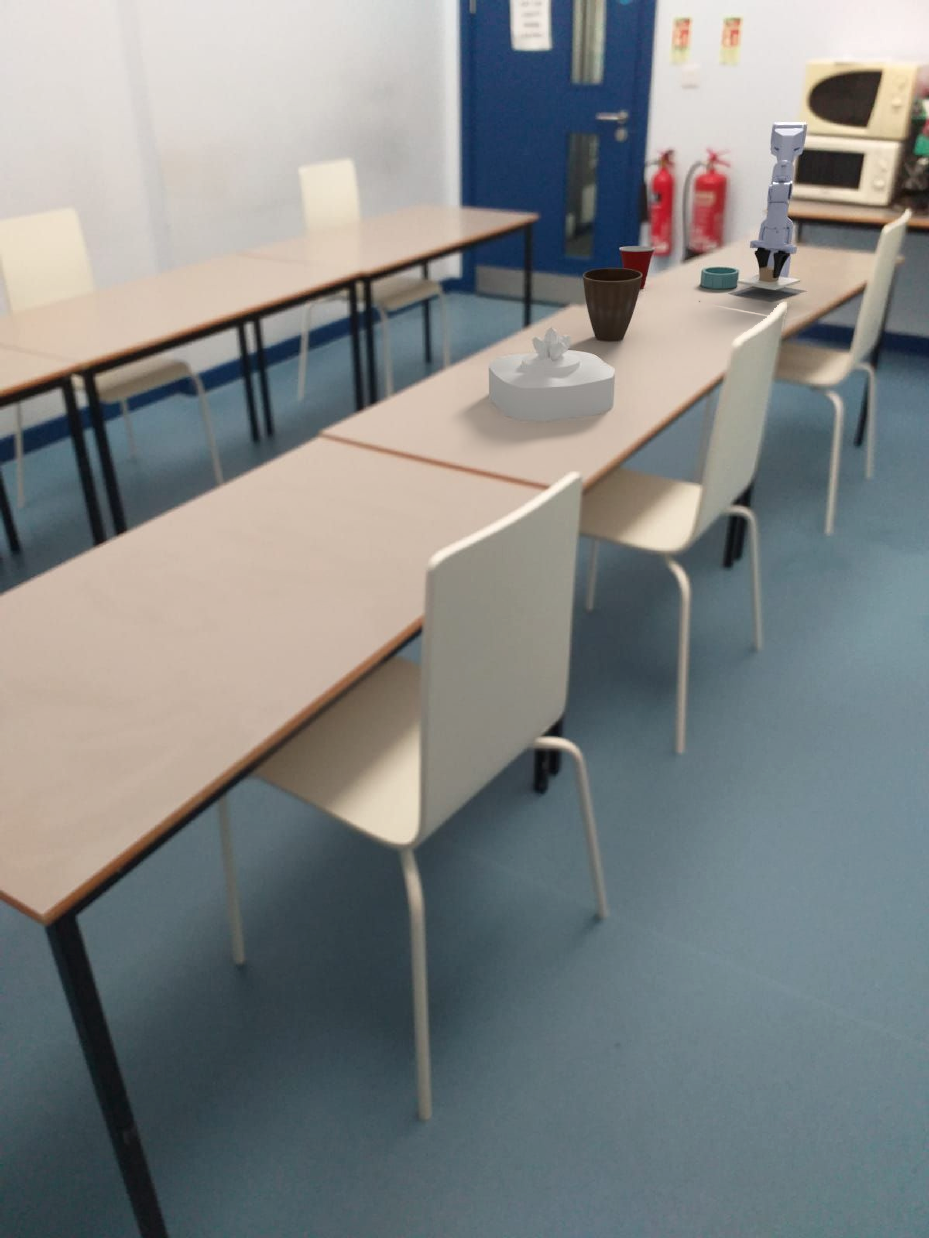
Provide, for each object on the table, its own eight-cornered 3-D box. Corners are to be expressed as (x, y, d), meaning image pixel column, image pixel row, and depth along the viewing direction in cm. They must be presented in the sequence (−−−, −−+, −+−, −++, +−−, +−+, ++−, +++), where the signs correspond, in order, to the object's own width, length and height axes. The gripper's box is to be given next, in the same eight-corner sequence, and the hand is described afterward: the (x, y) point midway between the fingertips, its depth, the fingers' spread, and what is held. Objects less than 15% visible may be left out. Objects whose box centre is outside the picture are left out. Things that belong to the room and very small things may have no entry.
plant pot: (644, 344, 247) (648, 279, 239) (586, 347, 247) (588, 282, 238) (631, 329, 260) (635, 266, 252) (576, 331, 260) (578, 269, 251)
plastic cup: (651, 283, 305) (654, 243, 299) (653, 291, 296) (656, 249, 290) (616, 283, 306) (618, 243, 300) (617, 291, 297) (619, 250, 291)
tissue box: (626, 412, 205) (630, 336, 197) (514, 427, 200) (513, 349, 191) (582, 378, 226) (585, 308, 217) (479, 390, 220) (478, 319, 212)
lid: (762, 276, 295) (764, 261, 293) (800, 282, 286) (802, 267, 284) (736, 283, 288) (738, 268, 285) (774, 290, 279) (776, 274, 277)
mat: (763, 285, 298) (763, 283, 298) (806, 292, 288) (806, 291, 288) (727, 295, 289) (727, 293, 288) (770, 303, 279) (771, 301, 278)
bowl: (715, 282, 305) (716, 265, 302) (744, 287, 297) (746, 270, 295) (693, 287, 299) (694, 271, 296) (722, 293, 291) (724, 276, 289)
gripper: (746, 226, 281) (740, 275, 289) (789, 232, 272) (782, 282, 279) (760, 223, 285) (754, 271, 292) (803, 229, 276) (796, 278, 283)
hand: (769, 276), depth 286 cm, fingers closed on lid, 4 cm apart
